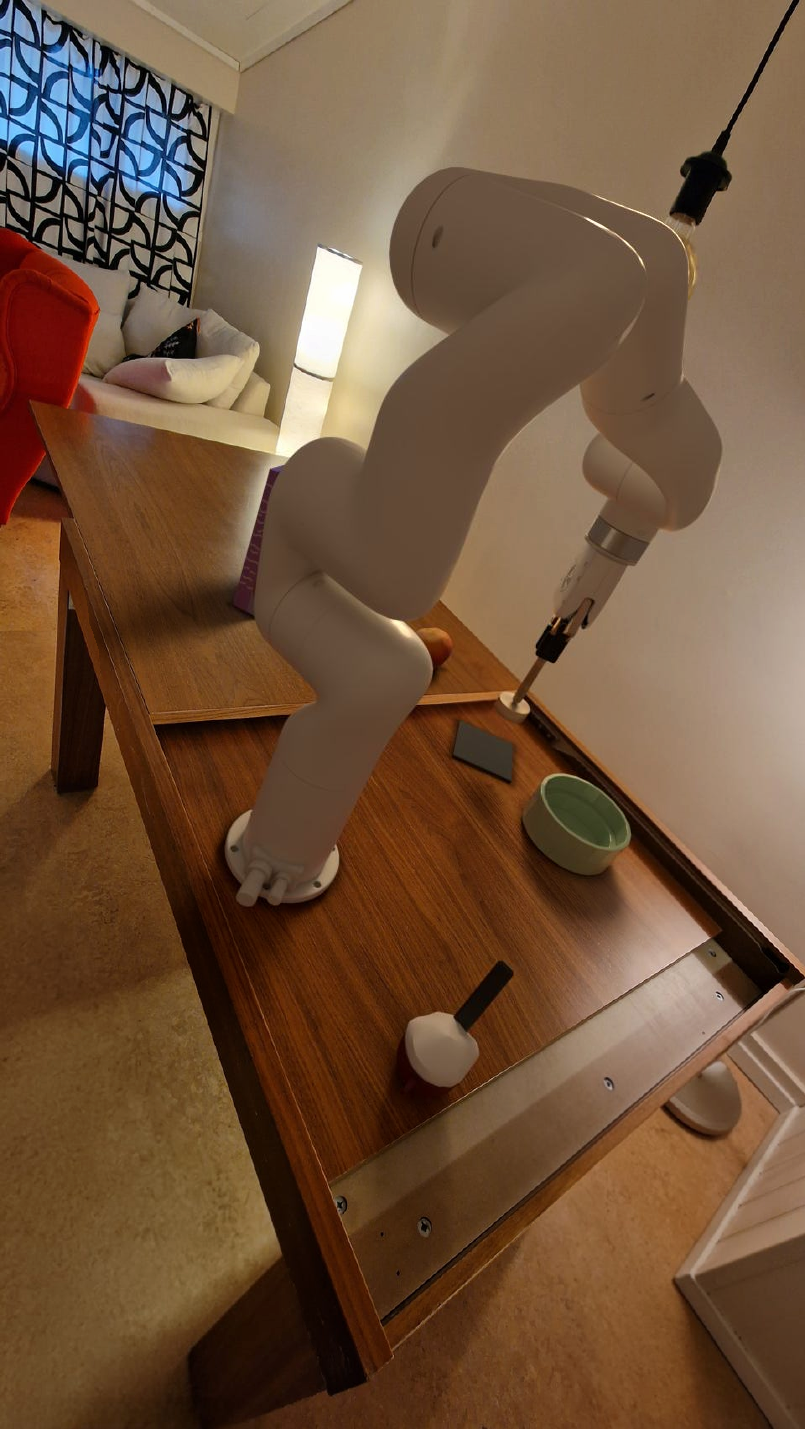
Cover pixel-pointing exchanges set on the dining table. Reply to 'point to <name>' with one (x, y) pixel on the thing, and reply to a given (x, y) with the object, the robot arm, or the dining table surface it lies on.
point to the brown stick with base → (518, 697)
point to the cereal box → (254, 552)
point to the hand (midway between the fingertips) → (544, 654)
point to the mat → (484, 751)
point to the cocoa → (446, 1041)
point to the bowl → (576, 824)
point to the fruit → (436, 644)
